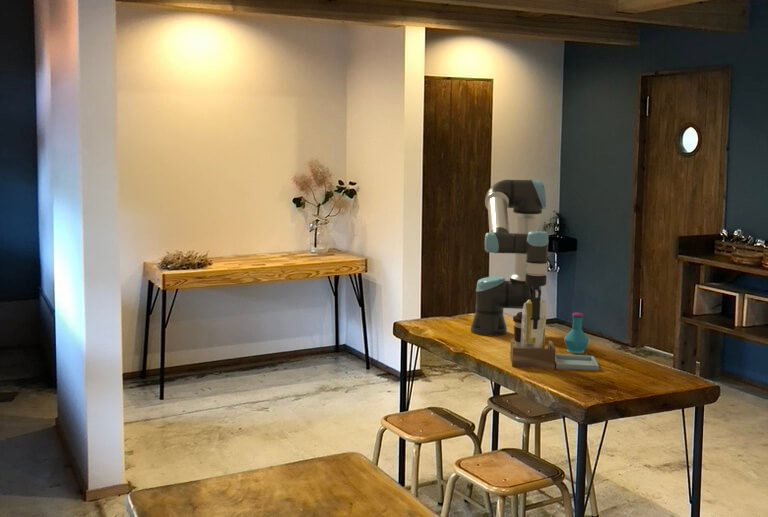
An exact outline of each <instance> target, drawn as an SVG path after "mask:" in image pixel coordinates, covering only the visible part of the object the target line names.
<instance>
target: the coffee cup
mask: <svg viewBox="0 0 768 517" xmlns="http://www.w3.org/2000/svg"><path fill="white" fill-rule="evenodd" d="M512 321H513V322H514V325H513V334H514V335H513V336H514V338H513V339H514V340H515V344H516V347H519V348H521V326H522V311H518V312H517V313H516V315H513V316H512Z"/></svg>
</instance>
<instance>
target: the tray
mask: <svg viewBox="0 0 768 517" xmlns="http://www.w3.org/2000/svg"><path fill="white" fill-rule="evenodd" d="M555 370H563V371H564V370H565V371H583V372H585V371H586V372H600V365H599V363H598V361H597V360H596V357H595V356H594V355H580V354H578V355H577V354H557V353H555Z"/></svg>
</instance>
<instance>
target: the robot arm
mask: <svg viewBox="0 0 768 517" xmlns="http://www.w3.org/2000/svg"><path fill="white" fill-rule="evenodd" d="M546 196H547V195H546V188H545V184H544V182H542V180H536V179H502V180H499V181H497V182H495V183H494V184H493V185H491V186H490V188H489V189H488V191H487V192H486V193H485V197H484V206H485V208H486V209H487V213H488V215H487V216H488V229H489V231H488V232H486V233H485V235H484V250H485V252H486V253H492V254H514V266H513V273H512V274H511V275H510V276H509V280H506V278H505V277H504V276H486V277H483V278H480V279H478V280H477V283H476V289H475V292H476V294H475V296H476V298H475V314H474V317H473V319H472V321H471V325H470V332H471V333H473V334H475V335H479V336H487V337H488V336H491V337H492V336H503V335H506V334H507V332H508V331H507V330H508V328H507V324H506V320H505V316H504V309H518V310H520V309H521V310H523V306H524V303H526V302H527V301H528V300H531V302H532V318H530V320H531V338H538V334H539V320H540V301H541V299H542V298H541V296H542V287H545V286H546V285H547V274H548V255H549V253H548V252H549V242H550V241H549V233H548V232H547V231H543V230H538V222H539V221H538V220H539V219H538V218H539V217H540V216H541V215H542V212H543V210H546V209H547V197H546ZM508 209H513V210H512V212H513V214H514V215H515V216H516V226H515V232H510V224H509V216H508V214H509V213H508Z"/></svg>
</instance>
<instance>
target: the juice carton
mask: <svg viewBox="0 0 768 517" xmlns="http://www.w3.org/2000/svg"><path fill="white" fill-rule="evenodd" d="M521 310H522V311H521V312H522V326H521V348H541V349H546V348H545V347H546V346H545V344H546V326H547V305H546V300H544V299H542V298H541V301H540V320H539V334H538V338H531V320H530V318H532V302H531V300H528V301H527V302H526V303H524V306H523V309H521Z"/></svg>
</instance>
